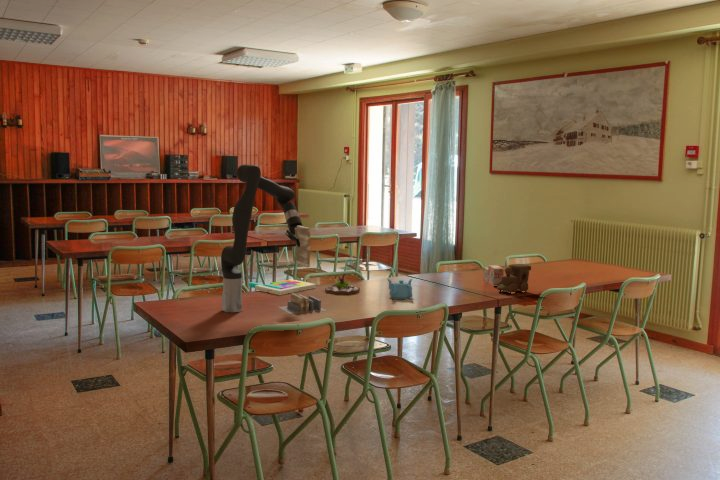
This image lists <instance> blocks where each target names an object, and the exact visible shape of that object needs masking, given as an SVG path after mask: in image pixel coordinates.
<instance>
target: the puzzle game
mask: <svg viewBox="0 0 720 480" xmlns="http://www.w3.org/2000/svg"><path fill="white" fill-rule="evenodd" d="M248 287H249V288H253V289H254V290H255V291H258V292H264V293H267V292H269V293H268V294H271V295H277V296H283V295H288V293H289V294H292V293H294V294H295V293H298V292H299V293H300V292H303V290H304V291H308V290H307V289H309V290H312V289H316V288H317V284H316V283H312V282H307V281H304V280H303V281H302V280H297V279H292V278H290V279H286V280H285V279H284V280H279V281H273V282H270V283H269V284H263V283H259V282H256V281H255V282H253V281H250V282H248ZM266 290H272V291H266Z"/></svg>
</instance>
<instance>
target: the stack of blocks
mask: <svg viewBox="0 0 720 480" xmlns="http://www.w3.org/2000/svg"><path fill="white" fill-rule="evenodd" d="M487 266H488V267H485V266H484V267H483V279H484V280H486V281H487V282H489V283H491V284H492V285H498V283H499V282H500V281H501V279H502V276H504V273H505V269H504V268H503V267H501V266H500V265H494V264H491V265H489V264H488V265H487Z"/></svg>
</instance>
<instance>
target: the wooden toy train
mask: <svg viewBox="0 0 720 480" xmlns="http://www.w3.org/2000/svg"><path fill="white" fill-rule="evenodd" d="M530 271H532V265H529V264H524V263H513V264H512V263H511V264H509V265H508V266H506V267H505V269H504V273H505V275H503V276H502V279H501V281H500V282H499V283H498V285H497V287H496V289H497V290H503V291H502V292H504V291H505V292H508V293H509V292H510V293H511V292H517V291H520V292H521V291H526V292H527V291H528V290H529V283H528V282H529V276H530Z"/></svg>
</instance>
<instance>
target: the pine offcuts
mask: <svg viewBox="0 0 720 480" xmlns="http://www.w3.org/2000/svg"><path fill="white" fill-rule="evenodd" d="M290 302H292V303H294V304H296V305H298V306H300V312H303V311H309V298H308V296H306V295H302V294H301V293H299V294H298V293H297V294H296V293H295V292H294V293H290Z"/></svg>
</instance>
